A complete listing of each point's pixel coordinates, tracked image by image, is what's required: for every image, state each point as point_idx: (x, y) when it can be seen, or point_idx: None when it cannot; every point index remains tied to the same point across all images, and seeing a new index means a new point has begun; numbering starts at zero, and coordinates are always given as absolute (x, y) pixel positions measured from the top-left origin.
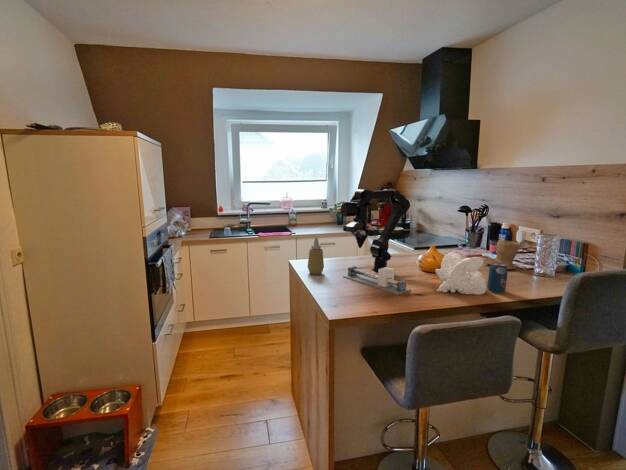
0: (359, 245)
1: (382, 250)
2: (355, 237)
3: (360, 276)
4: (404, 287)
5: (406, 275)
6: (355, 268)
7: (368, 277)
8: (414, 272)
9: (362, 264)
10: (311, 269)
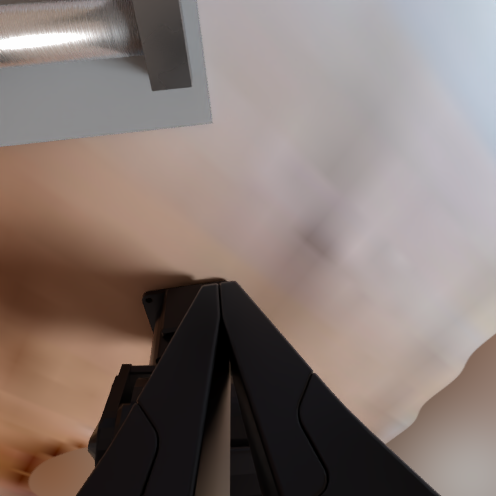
0: (210, 311)
1: (98, 456)
2: (422, 481)
3: (86, 66)
4: None
5: (36, 366)
6: (149, 64)
7: (28, 113)
8: (77, 416)
9: (353, 304)
10: None
